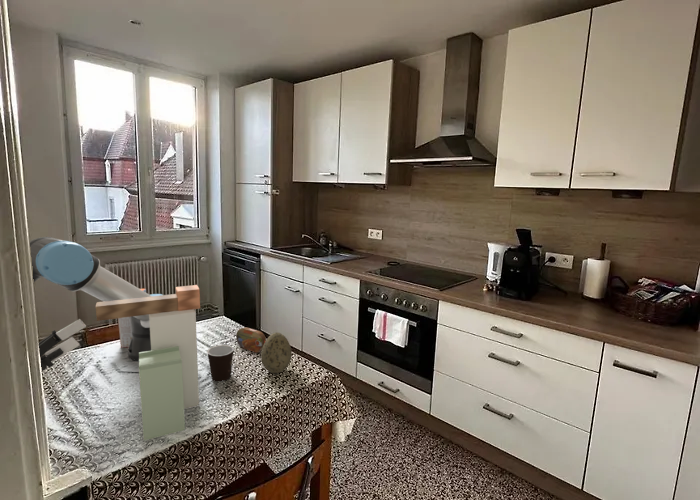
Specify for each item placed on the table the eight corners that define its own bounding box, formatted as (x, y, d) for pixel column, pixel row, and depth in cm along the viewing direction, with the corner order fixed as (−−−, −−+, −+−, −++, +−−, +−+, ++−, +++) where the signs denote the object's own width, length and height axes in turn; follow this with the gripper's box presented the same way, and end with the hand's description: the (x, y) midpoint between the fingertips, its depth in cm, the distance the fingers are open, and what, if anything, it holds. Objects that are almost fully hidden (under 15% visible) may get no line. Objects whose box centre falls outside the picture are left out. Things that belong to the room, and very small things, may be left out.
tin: (235, 345, 158) (235, 326, 157) (241, 343, 161) (241, 324, 160) (262, 355, 151) (261, 335, 149) (267, 352, 153) (267, 332, 152)
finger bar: (96, 321, 101) (94, 300, 100) (97, 315, 105) (96, 294, 104) (200, 308, 114) (199, 289, 113) (197, 303, 118) (196, 284, 117)
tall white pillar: (155, 415, 111) (149, 317, 105) (154, 398, 119) (148, 306, 114) (199, 405, 116) (195, 312, 111) (195, 389, 125) (191, 302, 119)
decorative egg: (284, 381, 132) (284, 340, 129) (256, 376, 134) (255, 336, 132) (295, 366, 142) (296, 329, 140) (269, 362, 145) (268, 325, 142)
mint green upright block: (143, 440, 100) (138, 366, 96) (143, 421, 108) (138, 352, 104) (184, 430, 105) (181, 359, 101) (181, 412, 113) (178, 346, 109)
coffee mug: (226, 384, 128) (225, 357, 126) (203, 381, 130) (202, 354, 128) (242, 368, 139) (242, 343, 138) (221, 365, 141) (220, 340, 139)
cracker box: (135, 334, 166) (132, 288, 162) (149, 334, 166) (147, 288, 163) (119, 348, 152) (115, 298, 148) (134, 348, 153) (131, 298, 149)
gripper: (19, 370, 107) (93, 325, 114) (-12, 420, 86) (82, 361, 93) (-1, 351, 105) (76, 306, 111) (-39, 398, 83) (61, 338, 90)
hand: (79, 331), depth 102 cm, fingers open, 13 cm apart
